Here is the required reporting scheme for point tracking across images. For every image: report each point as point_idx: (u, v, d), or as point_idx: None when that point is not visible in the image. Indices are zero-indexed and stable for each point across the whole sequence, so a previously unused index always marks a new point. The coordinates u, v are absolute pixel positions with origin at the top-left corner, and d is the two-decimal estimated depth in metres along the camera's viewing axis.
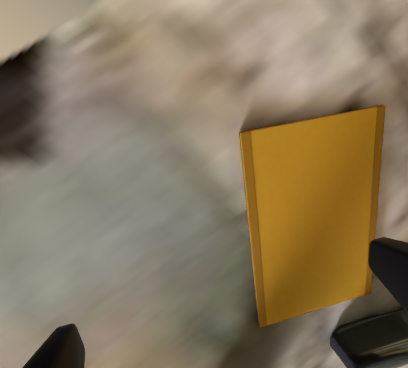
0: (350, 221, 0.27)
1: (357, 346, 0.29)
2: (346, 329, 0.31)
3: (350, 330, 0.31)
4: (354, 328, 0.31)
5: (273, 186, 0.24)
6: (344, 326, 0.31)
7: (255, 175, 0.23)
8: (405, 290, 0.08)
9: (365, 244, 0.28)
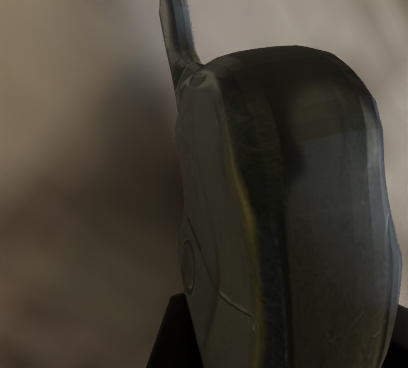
0: None
1: None
2: None
3: None
4: None
5: None
6: None
7: None
8: None
9: None
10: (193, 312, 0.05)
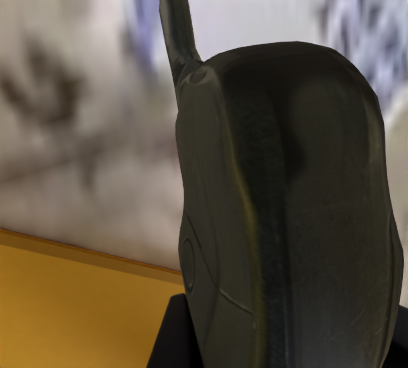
0: (135, 302, 0.20)
1: None
2: None
3: None
4: None
5: None
6: None
7: None
8: None
9: None
10: (193, 310, 0.05)
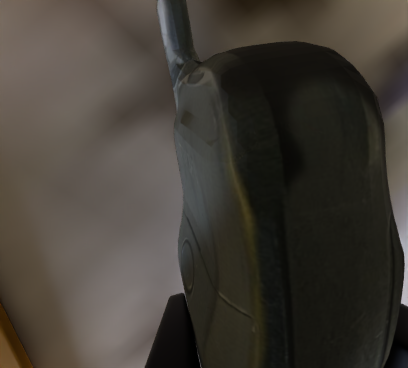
0: None
1: None
2: None
3: None
4: None
5: None
6: None
7: None
8: None
9: None
10: (192, 313, 0.05)
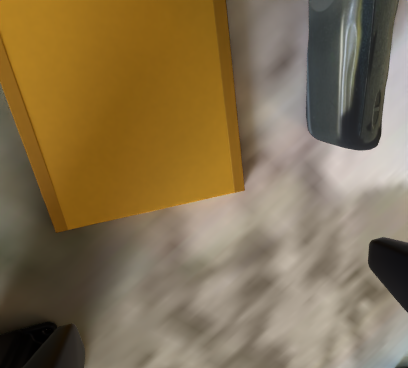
0: (183, 50, 0.17)
1: (329, 129, 0.18)
2: (310, 119, 0.19)
3: (312, 115, 0.19)
4: (311, 107, 0.19)
5: None
6: (307, 117, 0.20)
7: None
8: (405, 290, 0.08)
9: (219, 99, 0.18)
10: None
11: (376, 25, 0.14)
